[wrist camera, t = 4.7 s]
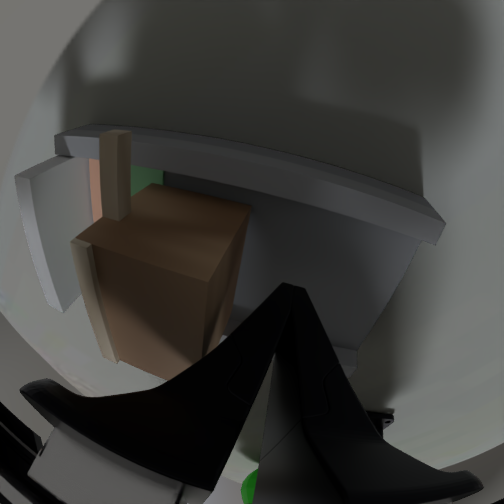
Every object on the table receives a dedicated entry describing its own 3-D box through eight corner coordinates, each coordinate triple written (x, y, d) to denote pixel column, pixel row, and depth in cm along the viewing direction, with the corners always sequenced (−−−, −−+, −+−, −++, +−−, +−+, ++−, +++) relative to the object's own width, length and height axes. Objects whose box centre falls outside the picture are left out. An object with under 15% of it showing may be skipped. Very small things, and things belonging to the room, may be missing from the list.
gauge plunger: (265, 135, 8) (218, 174, 4) (231, 311, 12) (197, 396, 8) (156, 118, 8) (58, 148, 4) (154, 286, 12) (103, 357, 8)
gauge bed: (424, 197, 9) (476, 263, 5) (349, 342, 13) (349, 419, 9) (89, 124, 10) (11, 151, 6) (100, 267, 14) (53, 317, 11)
